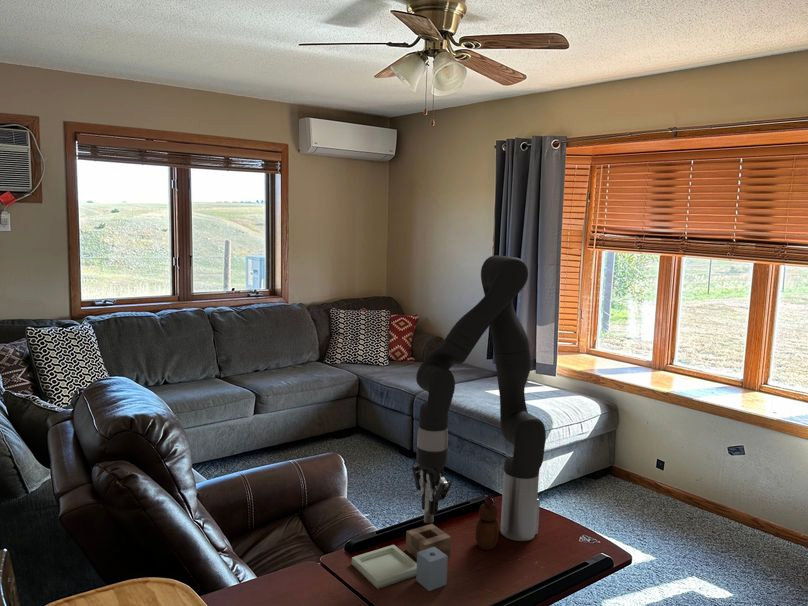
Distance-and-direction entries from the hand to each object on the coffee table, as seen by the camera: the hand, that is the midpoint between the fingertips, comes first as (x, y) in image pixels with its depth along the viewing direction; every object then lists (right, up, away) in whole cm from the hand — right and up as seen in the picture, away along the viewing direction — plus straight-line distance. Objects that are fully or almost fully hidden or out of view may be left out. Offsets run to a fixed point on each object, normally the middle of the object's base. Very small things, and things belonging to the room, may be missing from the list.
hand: (429, 511), depth 159 cm
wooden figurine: (+15, -11, +6) cm, 19 cm away
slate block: (0, -13, -11) cm, 17 cm away
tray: (-11, -12, -7) cm, 17 cm away
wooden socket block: (0, -11, +2) cm, 11 cm away
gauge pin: (0, -3, 0) cm, 3 cm away
